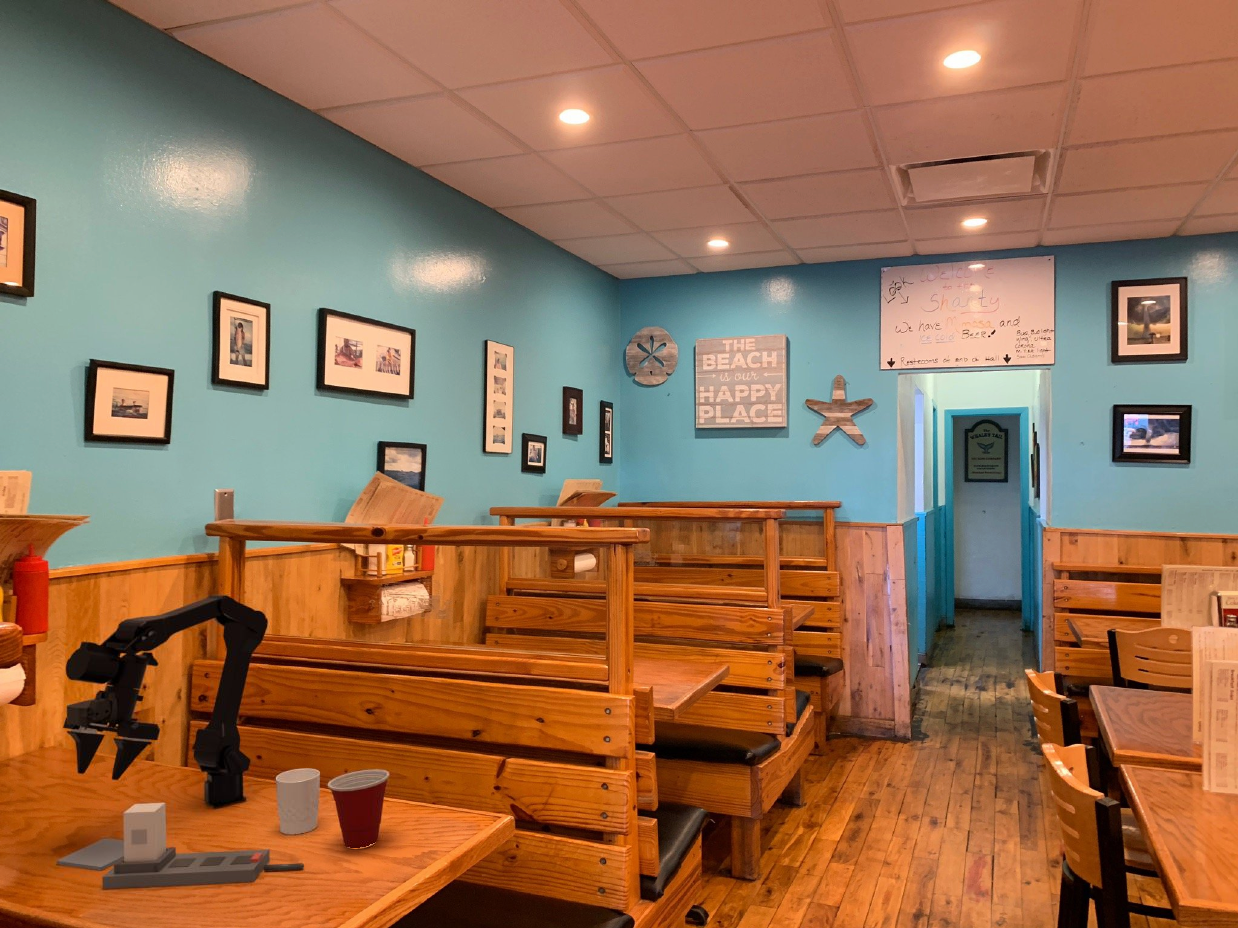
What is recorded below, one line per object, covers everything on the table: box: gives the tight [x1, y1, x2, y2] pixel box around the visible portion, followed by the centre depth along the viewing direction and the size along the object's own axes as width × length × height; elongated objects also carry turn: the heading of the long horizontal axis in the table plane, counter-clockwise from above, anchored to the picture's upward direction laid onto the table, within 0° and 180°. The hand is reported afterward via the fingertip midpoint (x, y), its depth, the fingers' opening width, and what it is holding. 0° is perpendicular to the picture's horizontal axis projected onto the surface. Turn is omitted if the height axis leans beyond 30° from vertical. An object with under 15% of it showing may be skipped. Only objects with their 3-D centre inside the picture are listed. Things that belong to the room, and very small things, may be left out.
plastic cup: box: [327, 768, 390, 848], centre depth 162 cm, size 11×11×12 cm
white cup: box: [275, 767, 321, 836], centre depth 169 cm, size 8×8×10 cm
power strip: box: [101, 846, 305, 890], centre depth 150 cm, size 31×8×4 cm, turn 93°
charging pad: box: [55, 837, 124, 871], centre depth 159 cm, size 10×10×1 cm
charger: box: [122, 802, 167, 862], centre depth 150 cm, size 4×5×10 cm
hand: (97, 776), depth 160 cm, fingers open, 9 cm apart
